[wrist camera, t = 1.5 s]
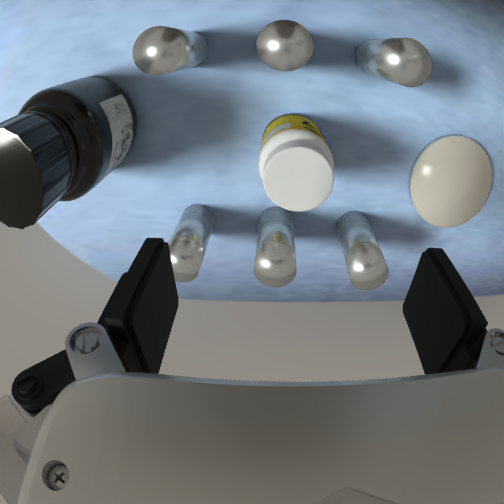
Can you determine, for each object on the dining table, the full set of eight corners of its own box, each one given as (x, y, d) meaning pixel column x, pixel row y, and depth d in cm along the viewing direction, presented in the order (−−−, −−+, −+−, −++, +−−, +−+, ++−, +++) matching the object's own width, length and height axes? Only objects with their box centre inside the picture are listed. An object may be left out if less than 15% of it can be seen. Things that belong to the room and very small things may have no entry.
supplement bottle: (332, 150, 24) (355, 194, 18) (283, 178, 26) (286, 232, 19) (301, 100, 22) (312, 124, 15) (250, 132, 24) (238, 169, 17)
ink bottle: (112, 189, 28) (42, 269, 18) (44, 146, 25) (-40, 205, 15) (159, 101, 23) (79, 145, 13) (79, 56, 20) (-24, 80, 10)
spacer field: (393, 43, 19) (433, 44, 13) (364, 240, 29) (383, 290, 23) (169, 33, 19) (131, 30, 14) (184, 232, 30) (163, 280, 24)
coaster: (497, 144, 22) (501, 147, 21) (473, 226, 27) (476, 230, 26) (418, 125, 22) (422, 128, 22) (399, 219, 27) (402, 224, 27)
